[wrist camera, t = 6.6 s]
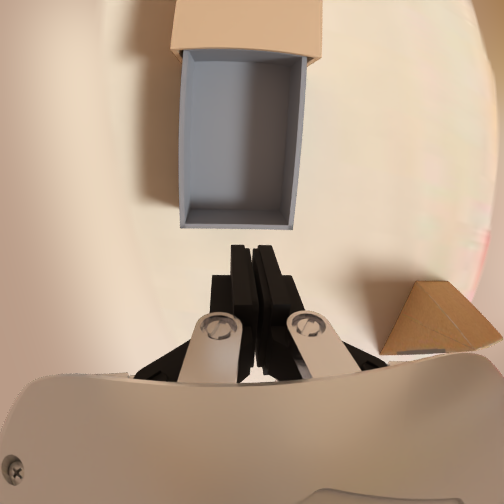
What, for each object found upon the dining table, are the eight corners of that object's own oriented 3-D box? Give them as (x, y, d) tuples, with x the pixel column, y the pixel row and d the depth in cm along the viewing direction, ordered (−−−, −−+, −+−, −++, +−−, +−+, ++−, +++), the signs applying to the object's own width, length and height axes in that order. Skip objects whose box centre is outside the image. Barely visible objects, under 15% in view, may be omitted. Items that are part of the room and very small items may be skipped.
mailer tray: (191, 59, 19) (183, 46, 15) (294, 64, 20) (307, 53, 16) (187, 211, 26) (180, 228, 22) (282, 213, 27) (292, 229, 23)
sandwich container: (376, 355, 40) (412, 425, 27) (413, 280, 33) (475, 350, 20) (412, 350, 41) (448, 409, 28) (448, 280, 35) (504, 338, 21)
